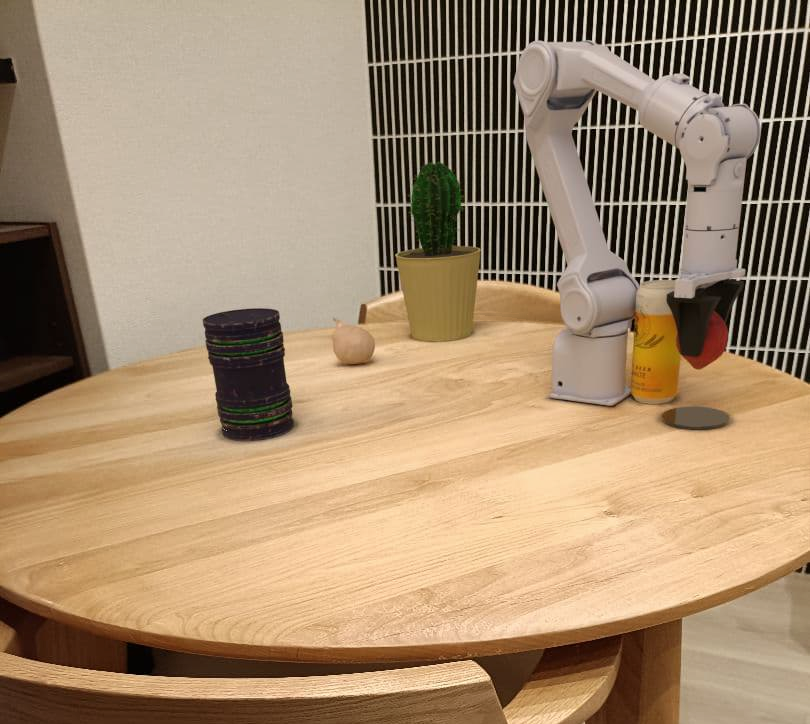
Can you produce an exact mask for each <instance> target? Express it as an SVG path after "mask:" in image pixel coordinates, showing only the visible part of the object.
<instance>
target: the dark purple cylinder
mask: <svg viewBox="0 0 810 724" xmlns="http://www.w3.org/2000/svg"><path fill="white" fill-rule="evenodd" d="M280 319H281V316H280V311H279V310H277V309H275V308H265V307H264V308H261V307H259V308H258V307H257V308H255V307H254V308H241V309H239V308H238V309H232V310H225V311H221V312H217V313H213V314H209V315H207V316H205V317H204V318H202V325H203V328H204V337H205V348H206V351H207V355H208V357H207V359H208V362H209V364H210V365H211V366H212V373H213V378H214V383H215V390H216V392H215V394H214V396H215V403H216V405H217V406H216V410H217V416H218V417H219V422H220V424H221V434H222V436H223V437H224V438H226V439H227V440H231V441H237V442H238V441H240V442H253V441H262V440H268V439H272V438H276V437H279V436H282V435H284V434H288V433H289V432H290V431H292V430H293V428H295V421H294V419H293V400H292V399H293V398H292V397H291V389H290V385H289V384H288V382H287V374H286V368H285V359H284V357H285V356H286V353H285V351H286V348H285V344H284V342H285V341H284V340H285V339H284V333H283V331H282V323H281V322H280ZM223 428H224V429H225V430H224V429H223ZM226 430H227V431H226Z"/></svg>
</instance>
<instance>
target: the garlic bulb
mask: <svg viewBox="0 0 810 724" xmlns="http://www.w3.org/2000/svg"><path fill="white" fill-rule="evenodd" d="M332 319H333V321H334V323H335V324H336V329H334V330H333V333H332V336H331V340H332V349H333V352H334V355H335V356H336V358H337V360H338V361H340V363H342V364H344V365H359V364H365V363H367V362H369V361H370V360H371V358H372V357H373V356H374V353H375V349H376V342H375V338H374V336H373V335H372V334H371V333H370V332H369V331H368V330H366V329H365V328H362V327H359V326H357V325H354V324H343V323H342V322H341V320H340V319H338V318H336V317H334V316H333V317H332Z"/></svg>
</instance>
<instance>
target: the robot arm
mask: <svg viewBox="0 0 810 724" xmlns="http://www.w3.org/2000/svg"><path fill="white" fill-rule="evenodd" d="M690 81H691V77H690V76H688V75H686V74H685V73H674V74H673V75H671V74H668V75H664V76H662V77H659V78H657V79H654V78H652V77H650V76H649V75H648V74H646V73H645V72H643V71H641V70H640V69H639V68H637V67H635V66H634V65H632V64H630V63H629V62H627V61H626V60H624V59H623V58H622V57H620V56H618V55H617V54H615V53H613V52H612V51H611V50H610V49H609V47H608V46H606V45H601V44H598V43H597V42H595V41H593V40H589V39H587V40H586V39H585V40H581V41H548V42H547V41H543V40H534V41H532V42H530V43H528V44H527V45H526V46H525V48H524V49H523V51H522V53H521V54H520V57H519V60H518V63H517V67H516V71H515V74H514V79H513V86H514V89H515V91H516V95H517V97H518V100H519V104H520V107H521V110H522V113H523V117H524V119H523V120H524V130H525V137H526V141H527V145H528V147H529V151H530V154H531V157H532V160H533V163H534V166H535V169H536V172H537V175H538V178H539V181H540V186H541V188H542V191H543V195H544V197H545V200H546V203H547V206H548V209H549V212H550V215H551V219H552V221H553V225H554V228H555V232H556V234H557V237H558V240H559V243H560V247H561V250H562V253H563V257H564V259H565V261H566V265H567V266H566V267H565V270H564V272H562V274H561V276H560V277H559V279H558V281H557V283H556V286H557V289H558V294H559V297H560V298H559V299H560V301H559V302H560V303H559V304H560V305H559V306H560V308H559V309H560V316H561V319H562V322H563V323H564V326H565V327H566V328H562V329H561V330H560V331H558V333H557V335H556V337H555V339H554V342H553V347H552V353H551V354H552V359H551V360H552V361H551V363H552V364H551V392H550V393H549V394H548V395H549V398H551V399H556V400H565V401H566V400H567V401H572V402H578V403H579V402H580V403H587V404H593V405H600V406H601V405H602V406H608V407H613V406H615V405H616V404H618V403H620V402H621V401H623V400H624V399H625V398H628V397H629V396H630V395H632V394H631V386H627V385H626V378H627V377H626V375H627V374H626V373H627V356H628V338H629V337H628V336H629V329H631V328H632V323H633V320H635V307H636V293H637V291H638V289H639V287H640V283H639V282H638V281H637V280H636V279H635V278H634V276H633V275H632V274H631V272H630V270H629V268H628V264H627V262H626V261H625V260H624V259H622V258H621V257H620V256H619V255H617V254H615V253H614V252H612V251H611V250H610V249H609V247H608V244H607V239H606V238H605V237H606V236H605V233H604V231H603V228H602V225H601V221H600V217H599V215H598V212H597V210H596V206H595V203H594V200H593V197H592V192H591V190H590V187H589V184H588V181H587V178H586V175H585V171H584V169H583V166H582V162H581V159H580V156H579V153H578V149H577V147H576V144H575V140H574V138H573V135H572V132H573V130H574V127H575V125H576V124H577V123H578V122H579V121H580V120H581V118H582V117H583V115H584V113H585V112H586V110H587V108H588V106H589V105H590V103H591V102H592V100H593V99H594V96H595V95H596V93H597V92H599V93H601V94H603V95H605V96H607V97H609V98H612V99H613V100H615V101H618V102H619V103H621V104H623V105H625V106H628V107H630V108H631V109H634V110H636V111H638V112H637V113H638V122H639V124H640V126H641V127H642V128H644V130H646V131H648V132H650V133H651V134H653V135H655V136H656V137H658V138H660V139H661V140H663V141H665V142H667V143H668V144H670V145H671V146H673V147H675V148H677V149H678V150H679V152H680V156H681V159H682V160H683V162H684V164H685V167H686V169H685V170H686V174H685V180H686V181H687V197H686V210H685V221H684V233H683V234H684V235H683V245H682V258H681V268H680V269H679V270H678V271H679V273H678V277H677V278H676V279H675V291H672V292H670V293H668V294H667V298H666V301H667V304H668V306H669V308H670V310H671V312H672V314H673V317H674V320H675V324H676V328H677V333H678V340H679V346H680V352H681V357H683V356H692V357H699V356H700V355H701V353H702V350H703V347H704V343H705V338H706V334H707V329H708V325H709V322H710V319H711V317H712V314H713V312H714V311H715V312H716V313H718V314H719V315H720V316H721V318H722V319H723V320H724V322H725V324H726V325H727V322H728V318H729V315H730V312H731V310H732V309H733V306H734V303H735V301H736V300H737V299H738V296H739V294H740V293H741V291H742V290H743V289H744V286H745V281H744V280H737V279H739V278H742V277H745V276H746V269H745V268H738V267H737V265H738V259H737V250H738V242H739V233H740V232H739V230H740V223H741V214H742V206H743V205H742V203H743V196H744V195H743V194H744V187H745V186H744V185H745V178H746V168H747V160H748V159H749V158H750V157H752V155H753V154H754V153H755V151H756V150H757V148H758V145H759V143H760V140H761V134H762V133H761V132H762V125H761V122H760V121H761V120H760V119H759V117H758V114H757V113H756V112H755V111H754V110H753V109H751V108H750V107H749V105H748V104H746V103H735V104H731V105H728V106H725V105H724V103H723V102H722V98H723V97H722V95H720V94H718V93H717V92H710V93H706V92H704V91H702V90H700V89H699V88H696V87H695V86H693V85H691V84H690ZM733 278H734V279H733ZM735 278H736V279H735Z"/></svg>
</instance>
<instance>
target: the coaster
mask: <svg viewBox="0 0 810 724" xmlns="http://www.w3.org/2000/svg"><path fill="white" fill-rule="evenodd" d="M661 421H662V422H663V423H664V424H666V425H668V426H670V427H672V428H677V429H683V430H693V431H695V430H696V431H705V430H715V429H719V428H723V427H725V426H727V425H729V423H730V421H731V416H730V415H729V414H728V413H727V412H725V411H723V410H721V409H717V408H713V407H707V406H706V407H705V406H695V405H694V406H679V407H673V408H670V409H667V410H665V411H663V412H662V414H661Z"/></svg>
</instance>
